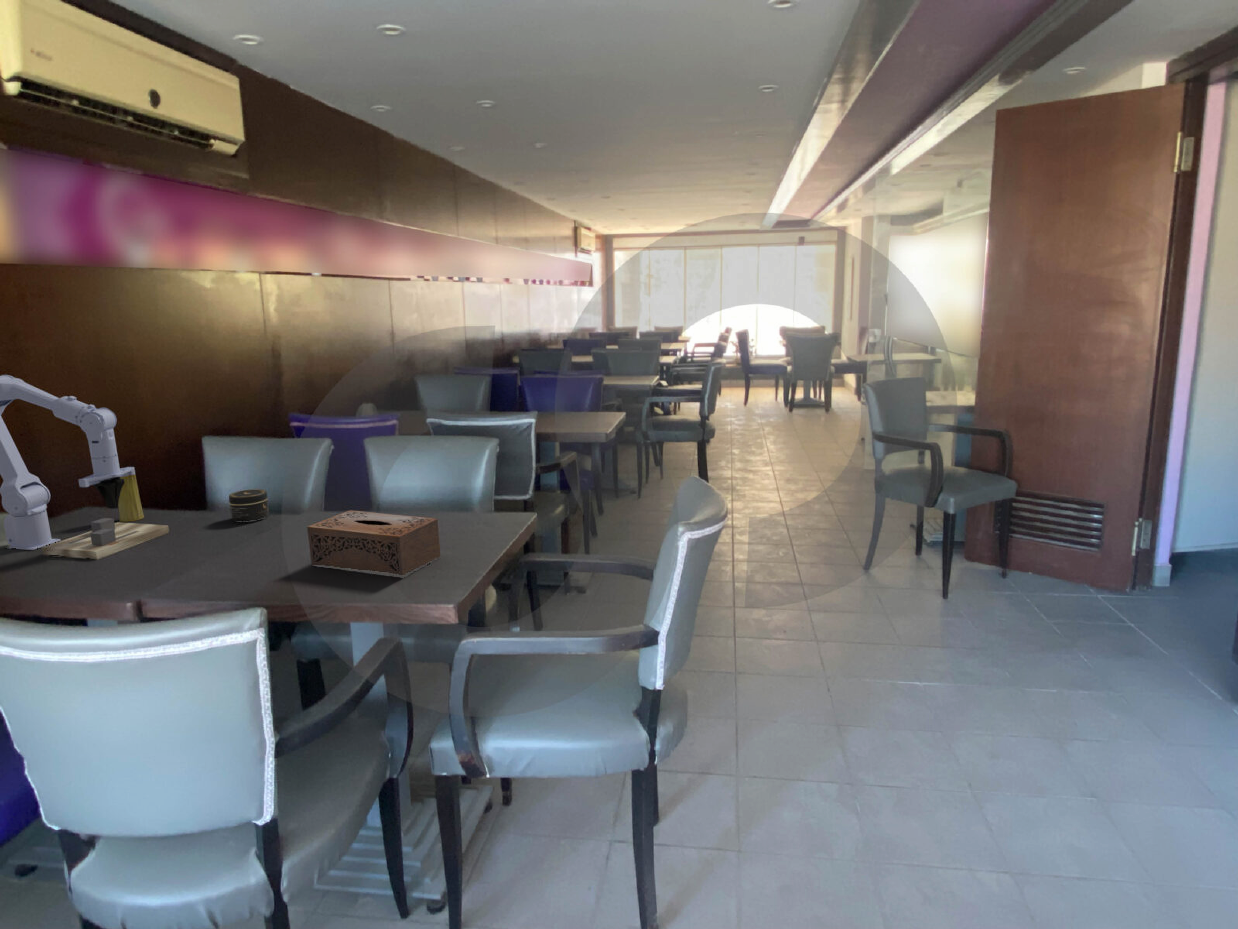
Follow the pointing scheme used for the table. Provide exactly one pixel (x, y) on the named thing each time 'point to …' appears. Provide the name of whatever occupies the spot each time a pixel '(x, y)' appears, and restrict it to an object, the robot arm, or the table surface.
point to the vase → (130, 500)
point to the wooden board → (125, 538)
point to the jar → (249, 505)
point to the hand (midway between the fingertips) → (113, 507)
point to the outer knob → (103, 537)
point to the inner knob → (102, 524)
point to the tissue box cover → (374, 541)
